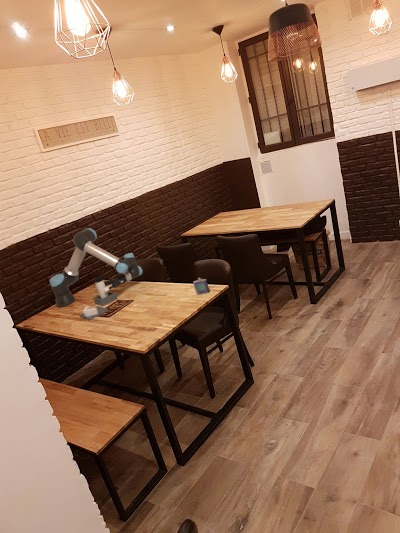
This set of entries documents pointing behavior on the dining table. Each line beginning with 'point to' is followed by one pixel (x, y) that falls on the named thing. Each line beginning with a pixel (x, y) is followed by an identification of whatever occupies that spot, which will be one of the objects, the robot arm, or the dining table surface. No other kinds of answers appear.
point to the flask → (201, 286)
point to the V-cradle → (92, 312)
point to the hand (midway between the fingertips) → (100, 289)
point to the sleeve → (105, 299)
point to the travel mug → (100, 286)
